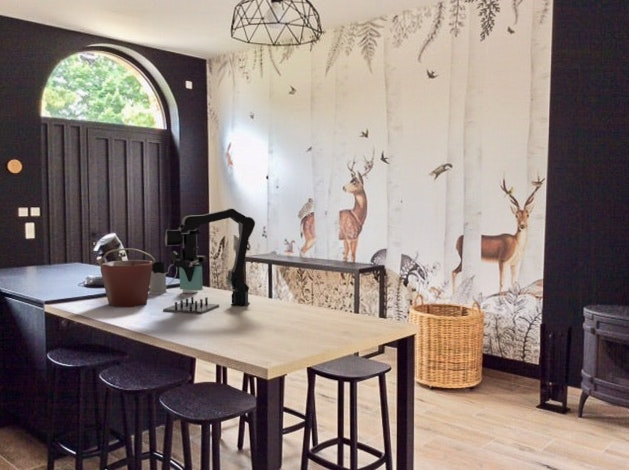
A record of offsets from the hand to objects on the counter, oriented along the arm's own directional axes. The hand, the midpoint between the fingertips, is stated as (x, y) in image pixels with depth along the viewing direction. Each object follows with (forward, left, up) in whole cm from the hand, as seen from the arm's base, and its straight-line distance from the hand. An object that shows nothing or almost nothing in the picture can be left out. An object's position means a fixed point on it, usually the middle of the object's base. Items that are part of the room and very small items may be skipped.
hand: (191, 281), depth 249 cm
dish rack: (0, +1, -12) cm, 12 cm away
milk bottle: (+22, -36, -12) cm, 44 cm away
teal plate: (0, 0, -4) cm, 4 cm away
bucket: (+34, -2, -12) cm, 36 cm away
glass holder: (+35, -32, -12) cm, 49 cm away
